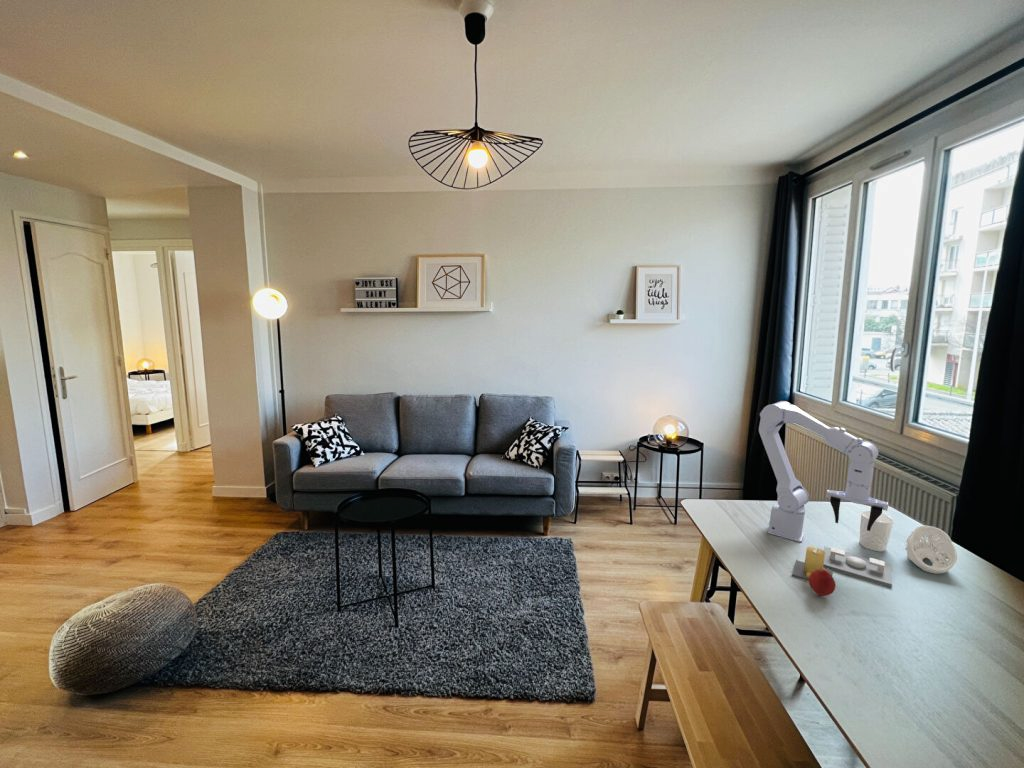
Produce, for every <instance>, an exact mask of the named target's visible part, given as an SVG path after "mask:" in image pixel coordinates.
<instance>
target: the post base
mask: <svg viewBox="0 0 1024 768" xmlns="http://www.w3.org/2000/svg"><path fill="white" fill-rule="evenodd" d="M823 551H824V552H825V559H824V566H823V568H825V569H828V570H832V571H833V572H837V573H841V574H844V575H848V576H851V577H854V578H857V579H860V580H861V579H862V580H864V581H867V582H871V583H874V584H878V585H881V586H885V587H888V588H892V587H893V580H892V568H891V567H892V566H891V563H887V562H885V561H884V560H880V559H877V558H873V557H869V558H867V557H865V556H861V555H858V554H854V553H850V552H846V550H843V549H840V548H836V547H833V546H831V547H829V546H824V547H823Z"/></svg>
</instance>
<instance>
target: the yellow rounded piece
mask: <svg viewBox="0 0 1024 768" xmlns="http://www.w3.org/2000/svg"><path fill="white" fill-rule="evenodd" d="M805 549H806V551H805V558H804V562H805V564H804V571H805V572H806V573H807V574H806V577H809V576H810V574H811V573H812V572H814V571H816V570H820V567H823V566H824V559H825V552H824V549H822V548H820V547H817V546H809V547H806V548H805Z"/></svg>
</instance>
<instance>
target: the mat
mask: <svg viewBox="0 0 1024 768" xmlns="http://www.w3.org/2000/svg"><path fill="white" fill-rule="evenodd" d="M804 564H805V561H801V560H797V559H796V560H795V564H794V566H793V570H792V574H791V576H792V577H793V578H797V579H800V580H804V581H806V582H808V579H809V577H806V574H807V573H806V572H805V571H804ZM825 570H826V571H827V572H828V573H830V574H831V576H832V577H833V574H834V571H833V570H830V569H827V568H825Z"/></svg>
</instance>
